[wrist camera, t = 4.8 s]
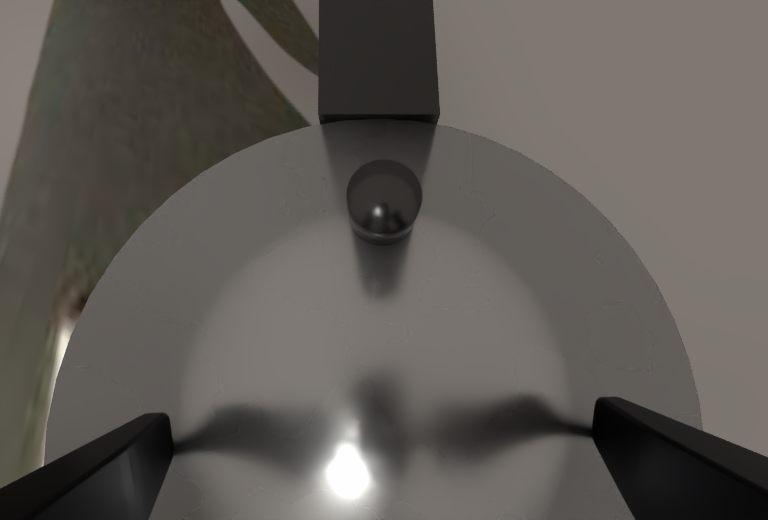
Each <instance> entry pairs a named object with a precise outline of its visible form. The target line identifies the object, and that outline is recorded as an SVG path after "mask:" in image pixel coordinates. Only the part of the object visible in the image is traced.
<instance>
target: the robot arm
mask: <svg viewBox="0 0 768 520" xmlns="http://www.w3.org/2000/svg"><path fill="white" fill-rule="evenodd" d="M591 432H592V439H593V442H594V444H595V446H596V448H597V450H598V452H599V454H600V455H601V457H602V459H603V461H604V463H605V465H606V467H607V469H608V471H609V473H610V475H611V476H612V478H613V480H614V482H615V484H616V486H617V488H618V490H619V492H620V494H621V495H622V497H623V499H624V501H625V503H626V505H627V506H628V508H629V510H630V512H631V513H632V515H633V517H634V518H635V520H768V457H766V456H763V455H761V454H758V453H756V452H753V451H751V450H748V449H746V448H743V447H741V446H739V445H736V444H733V443H731V442H729V441H726V440H724V439H721V438H719V437H716V436H714V435H711V434H709V433H706V432H704V431H702V430H699V429H697V428H694V427H692V426H689V425H687V424H684V423H682V422H679V421H677V420H674V419H672V418H669V417H667V416H665V415H662V414H660V413H657V412H655V411H652V410H650V409H647V408H645V407H642V406H640V405H637V404H635V403H632V402H630V401H628V400H625V399H623V398H620V397H616V396H610V397H599V398H598V399H597V400H596V402H595V406H594V414H593V422H592V431H591ZM173 454H174V445H173V438H172V430H171V423H170V418H169V416H168V414H166V413H164V412H158V413H145V414H143V415H141V416H139V417H137V418H135V419H133V420H131V421H129V422H127V423H125V424H124V425H122V426H120V427H118V428H116V429H114V430H112V431H110V432H108V433H106V434H104V435H102V436H100V437H99V438H97V439H95V440H93V441H91V442H89V443H87V444H85V445H83V446H81V447H79V448H77V449H75V450H74V451H72V452H70V453H68V454H66V455H64V456H62V457H60V458H58V459H56V460H54V461H52V462H50V463H49V464H47V465H45V466H43V467H41V468H39V469H37V470H35V471H33V472H31V473H29V474H27V475H25V476H24V477H22V478H20V479H18V480H16V481H14V482H12V483H10V484H8V485H6V486H4V487H2V488H0V520H149V518H150V515H151V512H152V510H153V507H154V505H155V502H156V500H157V497H158V495H159V492H160V490H161V487H162V485H163V482H164V480H165V477H166V474H167V472H168V469H169V467H170V464H171V462H172V459H173Z"/></svg>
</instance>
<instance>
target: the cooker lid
mask: <svg viewBox="0 0 768 520" xmlns="http://www.w3.org/2000/svg"><path fill="white" fill-rule="evenodd" d="M318 94H319V95H318V96H319V97H318V99H319V100H318V114H319V120H320V125H315V126H309V127H305V128H301V129H298V130H295V131H292V132H288V133H285V134H282V135H278V136H275V137H272V138H269V139H267V140H264V141H262V142H260V143H258V144H255V145H253V146H251V147H248V148H246V149H244V150H241V151H239V152H237V153H235V154H233V155H231V156H230V157H228V158H226V159H225V160H223V161H221V162H219V163H218V164H216V165H214V166H213V167H211V168H209V169H208V170H206V171H204V172H202V173H201V174H200V175H198V176H197V177H196V178H194V179H193V180H192V181H190V182H189V183H188V184H186V185H185V186H184V187H182V188H181V189H180V190H179V191H177V192H176V193H175V194H173V195H172V196H171V197H169V198H168V199H167V200H166V201H165V202H164V203H163V204H162V205H161V206H160V207H159V208H158V209H157V210H156V211H155V212H154V213H153V214H152V215H151V216H150V217H149V218H148V219H147V220H146V221H145V222H144V223H142V224H141V225H140V227H139V228H138V229H137V230H136V231H135V233H134V234H133V235H132V236H131V238H130V239H129V240H128V241H127V243H126V244H125V245H124V246H123V247H122V249H121V250H120V251H119V252H118V254H117V255H116V256H115V257H114V258H113V260H112V262H111V263H110V265H109V266H108V268H107V269H106V271H105V273H104V274H103V276H102V277H101V279H100V281H99V282H98V284H97V285H96V287H95V288H94V290H93V292H92V293H91V295H90V297H89V299H88V301H87V303H86V305H85V307H84V309H83V311H82V313H81V316H80V318H79V320H78V322H77V324H76V326H75V328H74V330H73V332H72V334H71V337H70V340H69V343H68V346H67V349H66V352H65V355H64V358H63V361H62V364H61V367H60V370H59V373H58V376H57V379H56V383H55V388H54V393H53V398H52V403H51V408H50V413H49V418H48V422H47V431H46V444H45V457H44V466H45V465H47V464H49V463H50V462H52V461H54V460H56V459H58V458H60V457H62V456H64V455H66V454H68V453H70V452H72V451H74V450H75V449H77V448H79V447H81V446H83V445H85V444H87V443H89V442H91V441H93V440H95V439H97V438H99V437H100V436H102V435H104V434H106V433H108V432H110V431H112V430H114V429H116V428H118V427H120V426H122V425H124V424H125V423H127V422H129V421H131V420H133V419H135V418H137V417H139V416H141V415H143V414H145V413H158V412H164V413H166V414H168V416H169V418H170V423H171V430H172V438H173V445H174V454H173V459H172V462H171V464H170V467H169V469H168V472H167V474H166V477H165V480H164V482H163V485H162V487H161V490H160V492H159V495H158V497H157V500H156V502H155V505H154V507H153V510H152V512H151V515H150V518H149V520H635V518H634V517H633V515H632V513H631V512H630V510H629V508H628V506H627V505H626V503H625V501H624V499H623V497H622V495H621V494H620V492H619V490H618V488H617V486H616V484H615V482H614V480H613V478H612V476H611V475H610V473H609V471H608V469H607V467H606V465H605V463H604V461H603V459H602V457H601V455H600V454H599V452H598V450H597V448H596V446H595V444H594V442H593V439H592V432H591V431H592V422H593V414H594V406H595V402H596V400H597V399H598V398H599V397H610V396H616V397H620V398H623V399H625V400H628V401H630V402H632V403H635V404H637V405H640V406H642V407H645V408H647V409H650V410H652V411H655V412H657V413H660V414H662V415H665V416H667V417H669V418H672V419H674V420H677V421H679V422H682V423H684V424H687V425H689V426H692V427H694V428H697V429H699V430H702V431H703V429H702V420H701V412H700V404H699V399H698V395H697V391H696V387H695V382H694V378H693V374H692V370H691V366H690V362H689V358H688V356H687V353H686V350H685V347H684V345H683V342H682V339H681V337H680V334H679V331H678V329H677V326H676V323H675V320H674V319H673V316H672V314H671V312H670V311H669V308H668V307H667V304H666V303H665V300H664V299H663V297H662V295H661V293H660V291H659V289H658V287H657V285H656V283H655V281H654V280H653V278H652V277H651V275H650V274H649V272H648V271H647V270H646V268H645V266H644V265H643V263H642V262H641V260H640V259H639V257H638V256H637V254H636V252H635V251H634V250H633V248H632V247H631V246H630V245H629V244H628V243H627V242H626V240H625V239H624V238H623V236H622V235H621V234H620V233H619V232H618V230H617V229H616V228H615V227H614V226H613V224H612V223H611V222H610V221H609V220H608V219H607V218H606V217H605V216H604V215H603V214H602V213H601V212H600V211H599V210H598V209H597V208H596V207H594V206H593V205H592V204H591V203H590V202H589V201H588V200H587V199H586V198H585V197H584V196H583V195H582V194H581V193H579V192H578V191H577V190H575V189H574V188H573V187H571V186H570V185H569V184H567V183H566V182H565V181H563V180H562V179H561V178H559V177H558V176H557V175H555V174H554V173H553V172H551V171H550V170H548V169H546V168H545V167H543V166H541V165H540V164H538V163H536V162H534V161H533V160H531V159H529V158H528V157H526V156H524V155H522V154H521V153H519V152H517V151H514V150H512V149H510V148H508V147H505V146H503V145H501V144H499V143H496V142H494V141H492V140H489V139H487V138H484V137H481V136H478V135H475V134H471V133H468V132H465V131H462V130H458V129H455V128H452V127H447V126H441V125H437V122H438V119H439V115H440V107H439V92H438V76H437V60H436V43H435V28H434V12H433V0H319V92H318Z"/></svg>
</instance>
